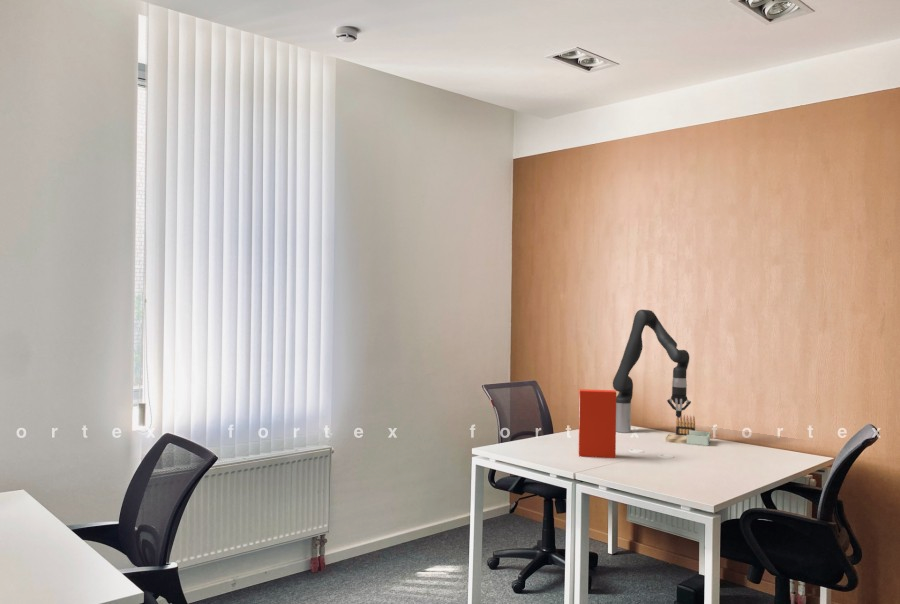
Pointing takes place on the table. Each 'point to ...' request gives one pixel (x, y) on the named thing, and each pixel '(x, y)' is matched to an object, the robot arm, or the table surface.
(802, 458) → the table surface
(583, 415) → the file binder
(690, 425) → the ammunition clip
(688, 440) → the box
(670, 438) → the bench plate
